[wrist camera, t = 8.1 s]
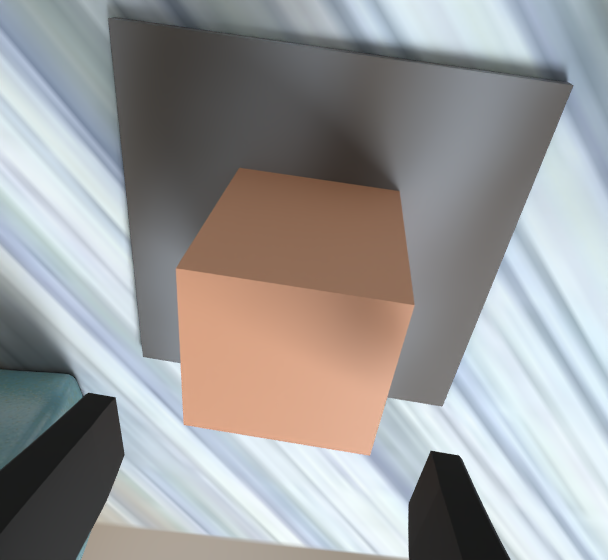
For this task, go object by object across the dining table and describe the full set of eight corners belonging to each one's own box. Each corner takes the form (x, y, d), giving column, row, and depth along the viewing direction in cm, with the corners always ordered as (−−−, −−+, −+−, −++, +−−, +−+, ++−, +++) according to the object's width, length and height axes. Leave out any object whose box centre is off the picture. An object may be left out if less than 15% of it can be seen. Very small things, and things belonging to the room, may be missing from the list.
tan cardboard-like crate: (399, 191, 16) (414, 305, 11) (369, 317, 20) (369, 455, 14) (239, 167, 17) (175, 268, 11) (235, 296, 20) (183, 424, 14)
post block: (568, 82, 14) (658, 136, 10) (441, 399, 22) (459, 509, 18) (114, 17, 15) (3, 41, 10) (146, 351, 23) (91, 446, 18)
